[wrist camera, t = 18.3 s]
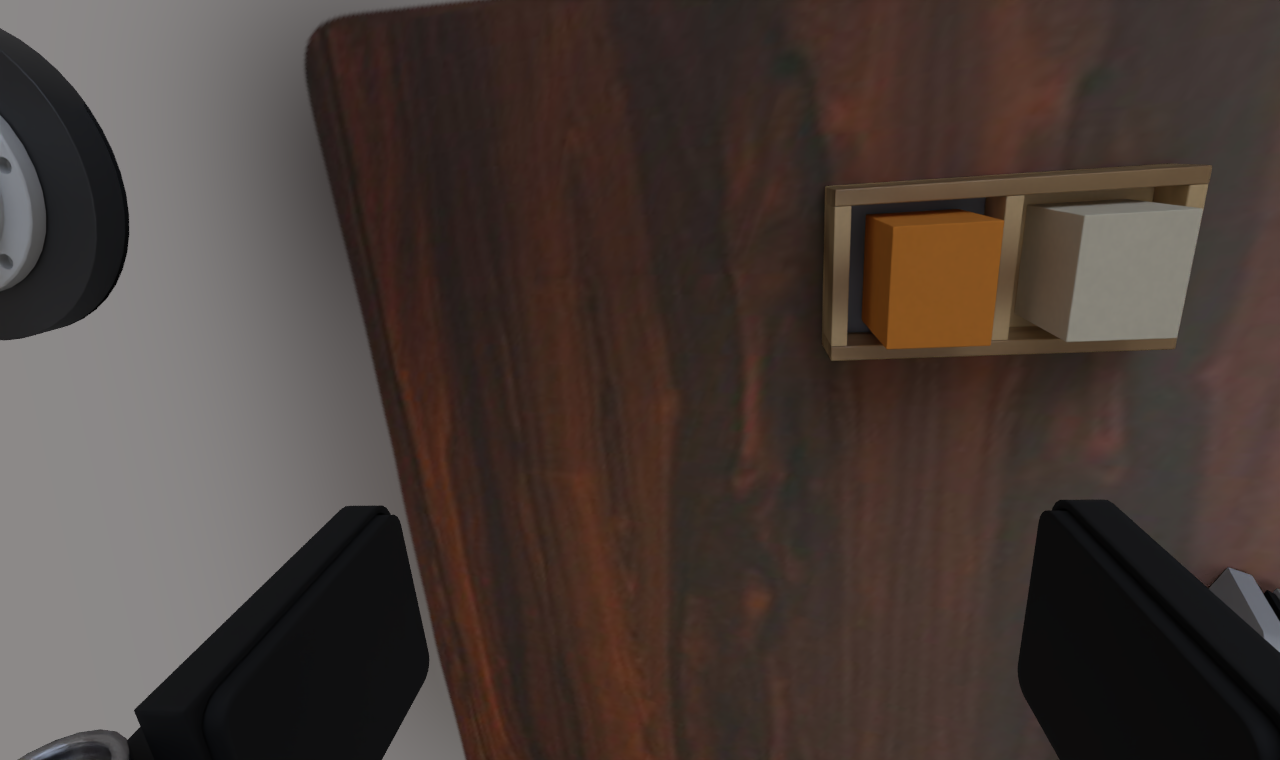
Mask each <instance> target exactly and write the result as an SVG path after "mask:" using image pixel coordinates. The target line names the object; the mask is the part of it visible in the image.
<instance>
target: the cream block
mask: <svg viewBox="0 0 1280 760" xmlns="http://www.w3.org/2000/svg"><path fill="white" fill-rule="evenodd" d="M1202 212H1203V209H1202V208H1195V207H1187V206H1179V205H1171V204H1163V203H1155V202H1147V201H1139V200H1131V199H1114V200H1097V201H1080V202H1064V203H1047V204H1031V205H1027V212H1026V220H1025V229H1024V237H1023V246H1022V254H1021V263H1020V271H1019V280H1018V288H1017V297H1016V305H1015V314H1017V315H1018V316H1020V317H1022V318H1024V319H1026V320H1027V321H1029V322H1031V323H1033V324H1035V325H1037V326H1038V327H1040V328H1042V329H1044V330H1046V331H1047V332H1049V333H1051V334H1053V335H1055V336H1056V337H1058V338H1060V339H1062V340H1064V341H1065V342H1083V341H1111V340H1139V339H1167V338H1177V336H1178V331H1179V326H1180V321H1181V316H1182V311H1183V306H1184V301H1185V296H1186V291H1187V286H1188V281H1189V276H1190V271H1191V267H1192V262H1193V257H1194V252H1195V247H1196V242H1197V237H1198V232H1199V227H1200V222H1201V217H1202Z"/></svg>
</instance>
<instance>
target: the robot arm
mask: <svg viewBox="0 0 1280 760" xmlns="http://www.w3.org/2000/svg"><path fill="white" fill-rule="evenodd" d="M45 235H46V208H45V202H44V197H43V191H42V188H41V185H40V182H39V179H38V176H37V173H36V170H35V167H34V165H33V163H32V162H31V160H30V158H29V156H28V154H27V152H26V150H25V148H24V146H23V144H22V143H21V142H20V140H19V139H18V137H17V136H16V134H15V133H14V131H13V130H12V129H11V127H10V126H9V124H8V123H7V122H6V121H5V120H4V119H3V118H2V117H1V115H0V291H3V290H6V289H9V288H12V287H13V286H14V285H16V284H17V283H19V282H20V281H22V280H23V279H25V277H26V276H27V275H28V274H29V273H30V271H31V270H32V269H33V268H34V267H35V265H36V263H37V261H38V259H39V256H40V254H41V252H42V249H43V244H44V240H45ZM428 668H429V653H428V648H427V643H426V638H425V634H424V629H423V625H422V620H421V615H420V611H419V607H418V601H417V597H416V592H415V588H414V584H413V578H412V574H411V569H410V564H409V560H408V556H407V551H406V546H405V541H404V537H403V532H402V528H401V524H400V521H399V519H398V517H397V516H395V515H390V513H389V511H388V510H387V508H386V507H384V506H345V507H344V508H342V509H341V510H340V511H339V512H338V513H337V514H336V515H335V516H334V517H333V518H332V519H331V520H330V521H329V522H328V523H326V525H324V527H322V528H321V529H320V530H319V531H318V532H317V533H316V534H315V535H314V536H313V537H312V538H311V539H310V540H309V541H308V542H307V543H306V544H305V545H304V546H303V547H302V548H301V549H300V550H299V551H298V552H297V553H296V554H295V555H293V557H291V558H290V559H289V560H288V561H287V562H286V563H285V564H284V565H283V566H282V567H281V568H280V569H279V570H278V571H277V572H276V573H275V574H274V575H273V576H272V577H271V578H270V579H269V580H268V581H267V582H266V583H265V584H264V585H263V586H262V587H260V589H258V590H257V591H256V592H255V593H254V594H253V595H252V596H251V597H250V598H249V599H248V600H247V601H246V602H245V603H244V604H243V605H242V606H241V607H240V608H239V609H238V610H237V611H236V612H235V613H234V614H233V615H232V616H231V617H230V618H229V619H228V620H226V622H225V623H223V624H222V625H221V626H220V627H219V628H218V629H217V630H216V631H215V632H214V633H213V634H212V635H211V636H210V637H209V638H208V639H207V640H206V641H205V642H204V643H203V644H202V645H201V646H200V647H199V648H198V649H197V650H196V651H195V652H193V653H192V654H191V655H190V656H189V658H187V659H186V660H185V661H184V662H183V663H182V664H181V665H180V666H179V667H178V668H177V669H176V670H175V671H174V672H173V673H172V674H171V675H170V676H169V677H168V678H167V679H166V680H165V681H164V682H163V683H162V684H160V685H159V687H157V688H156V689H155V690H154V691H153V692H152V693H151V694H150V695H149V696H148V697H147V698H146V699H145V700H144V701H143V702H142V703H141V704H140V705H139V706H138V707H137V708H136V709H135V710H134V711H135V714H136V716H137V719H138V721H139V724H140V726H141V727H140V728H139V729H138V730H137V731H136V732H135V733H134V734H133V735H132V736H131V737H130V738H129V739H128V740H127V739H126V738H125V737H123V736H122V735H120V734H119V733H118V732H115V731H108V730H94V731H87V732H80V733H76V734H74V735H70V736H68V737H64V738H61V739H58V740H55V741H53V742H51V743H49V744H47V745H44V746H42V747H40V748H38V749H36V750H34V751H32V752H30V753H28V754H26V755H25V756H23V757H22V758H20V759H18V760H382V758H383V756H384V755H385V753H386V751H387V749H388V747H389V746H390V744H391V741H392V740H393V738H394V736H395V734H396V732H397V731H398V729H399V727H400V725H401V723H402V721H403V720H404V718H405V716H406V714H407V712H408V710H409V709H410V707H411V705H412V703H413V701H414V699H415V697H416V696H417V694H418V692H419V690H420V688H421V687H422V685H423V683H424V681H425V679H426V676H427V672H428ZM1018 678H1019V683H1020V687H1021V690H1022V693H1023V695H1024V697H1025V699H1026V700H1027V702H1028V704H1029V706H1030V708H1031V709H1032V711H1033V713H1034V715H1035V716H1036V718H1037V720H1038V722H1039V724H1040V725H1041V727H1042V729H1043V731H1044V732H1045V734H1046V736H1047V738H1048V739H1049V741H1050V743H1051V745H1052V747H1053V748H1054V750H1055V752H1056V754H1057V755H1058V757H1059V759H1060V760H1280V652H1279V651H1278V650H1277V649H1275V648H1274V647H1273V646H1272V645H1271V644H1270V643H1269V642H1268V641H1266V640H1265V639H1264V638H1263V637H1262V636H1261V635H1260V634H1259V633H1257V632H1256V631H1255V630H1254V629H1253V628H1252V627H1251V626H1250V625H1249V624H1247V623H1246V622H1245V621H1244V620H1243V619H1242V618H1241V617H1240V616H1238V615H1237V614H1236V613H1235V612H1234V611H1233V610H1232V609H1231V608H1229V607H1228V606H1227V605H1226V604H1225V603H1224V602H1223V601H1222V600H1221V599H1219V598H1218V597H1217V596H1216V595H1215V594H1214V593H1213V592H1212V591H1210V590H1209V589H1208V588H1207V587H1206V586H1205V585H1204V584H1203V583H1201V582H1200V581H1199V580H1198V579H1197V578H1196V577H1195V576H1194V575H1193V574H1191V573H1190V572H1189V571H1188V570H1187V569H1186V568H1185V567H1184V566H1182V565H1181V564H1180V563H1179V562H1178V561H1177V560H1176V559H1175V558H1173V557H1172V556H1171V555H1170V554H1169V553H1168V552H1167V551H1166V550H1165V549H1163V548H1162V547H1161V546H1160V545H1159V544H1158V543H1157V542H1156V541H1154V540H1153V539H1152V538H1151V537H1150V536H1149V535H1148V534H1147V533H1146V532H1144V531H1143V530H1142V529H1141V528H1140V527H1139V526H1138V525H1137V524H1135V523H1134V522H1133V521H1132V520H1131V519H1130V518H1129V517H1128V516H1126V515H1125V514H1124V513H1123V512H1122V511H1121V510H1120V509H1119V508H1118V507H1116V506H1115V505H1114V504H1113V503H1111V502H1110V501H1108V500H1059V501H1058V502H1056V503H1055V505H1054V507H1053V509H1052V511H1044V512H1043V513H1042V514H1041V516H1040V519H1039V524H1038V531H1037V538H1036V545H1035V552H1034V559H1033V566H1032V572H1031V579H1030V586H1029V593H1028V600H1027V607H1026V614H1025V620H1024V627H1023V634H1022V641H1021V648H1020V655H1019V662H1018Z"/></svg>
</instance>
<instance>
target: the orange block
mask: <svg viewBox="0 0 1280 760" xmlns="http://www.w3.org/2000/svg"><path fill="white" fill-rule="evenodd" d="M1003 228H1004V220H1001V219H997V218H993V217H989V216H985V215H981V214H977V213H973V212H969V211H965V210H961V209H950V210H933V211H917V212H900V213H884V214H867V215H866V225H865V250H864V274H863V299H862V321H863V322H864V323H865V325H866V326H867V327H868V328H869V329H870V330H871V332H872V333H873V334H874V335H875V336H876V337H877V339H878V340H879V341H880V342H881V343H882V344H883V346H884V347H885V348H886V349H913V348H941V347H969V346H990V345H991V340H992V330H993V321H994V312H995V302H996V293H997V284H998V275H999V265H1000V256H1001V247H1002V238H1003Z"/></svg>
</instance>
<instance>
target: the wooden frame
mask: <svg viewBox="0 0 1280 760" xmlns="http://www.w3.org/2000/svg"><path fill="white" fill-rule="evenodd" d="M1211 170H1212V165H1194V164H1154V165H1139V166H1123V167H1108V168H1093V169H1078V170H1063V171H1048V172H1032V173H1017V174H1002V175H987V176H972V177H956V178H941V179H926V180H911V181H896V182H881V183H865V184H850V185H835V186H826V187H825V214H824V263H823V312H822V345H823V347H824V349H825V350H826V352H827V354H828V356H829V358H830V360H831V361H843V360H873V359H902V358H931V357H961V356H990V355H1020V354H1049V353H1078V352H1108V351H1137V350H1167V349H1175V346H1176V341H1177V338H1167V339H1139V340H1111V341H1083V342H1065V341H1064V340H1062V339H1060V338H1058V337H1056V336H1055V335H1053V334H1051V333H1049V332H1047V331H1046V330H1044V329H1042V328H1040V327H1038V326H1037V325H1035V324H1033V323H1031V322H1029V321H1027V320H1026V319H1024V318H1022V317H1020V316H1018V315H1017V314H1015V305H1016V297H1017V288H1018V280H1019V271H1020V263H1021V254H1022V246H1023V237H1024V229H1025V220H1026V212H1027V205H1031V204H1047V203H1064V202H1080V201H1097V200H1114V199H1131V200H1139V201H1147V202H1155V203H1163V204H1171V205H1179V206H1187V207H1195V208H1202V209H1204V204H1205V199H1206V194H1207V189H1208V183H1209V180H1210V175H1211ZM950 209H961V210H965V211H969V212H973V213H977V214H981V215H985V216H989V217H993V218H997V219H1001V220H1004V228H1003V238H1002V247H1001V256H1000V265H999V275H998V284H997V293H996V302H995V312H994V321H993V330H992V340H991V345H990V346H969V347H941V348H913V349H886V348H885V347H884V346H883V344H882V343H881V342H880V341H879V340H878V339H877V337H876V336H875V335H874V334H873V333H872V332H871V330H870V329H869V328H868V327H867V326H866V325H865V323H864V322H863V321H862V299H863V274H864V250H865V225H866V215H867V214H884V213H900V212H917V211H933V210H950ZM1202 214H1203V212H1202ZM1201 219H1202V217H1201ZM1200 224H1201V222H1200ZM1199 228H1200V227H1199ZM1198 233H1199V232H1198ZM1197 238H1198V237H1197ZM1196 243H1197V242H1196ZM1195 248H1196V247H1195ZM1194 253H1195V252H1194ZM1193 258H1194V257H1193ZM1192 263H1193V262H1192ZM1191 268H1192V267H1191ZM1190 273H1191V271H1190ZM1189 278H1190V276H1189ZM1188 283H1189V281H1188ZM1187 288H1188V286H1187ZM1186 293H1187V291H1186ZM1185 297H1186V296H1185ZM1184 302H1185V301H1184ZM1183 307H1184V306H1183ZM1182 312H1183V311H1182ZM1181 317H1182V316H1181ZM1180 322H1181V321H1180ZM1179 327H1180V326H1179ZM1178 332H1179V331H1178Z"/></svg>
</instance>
